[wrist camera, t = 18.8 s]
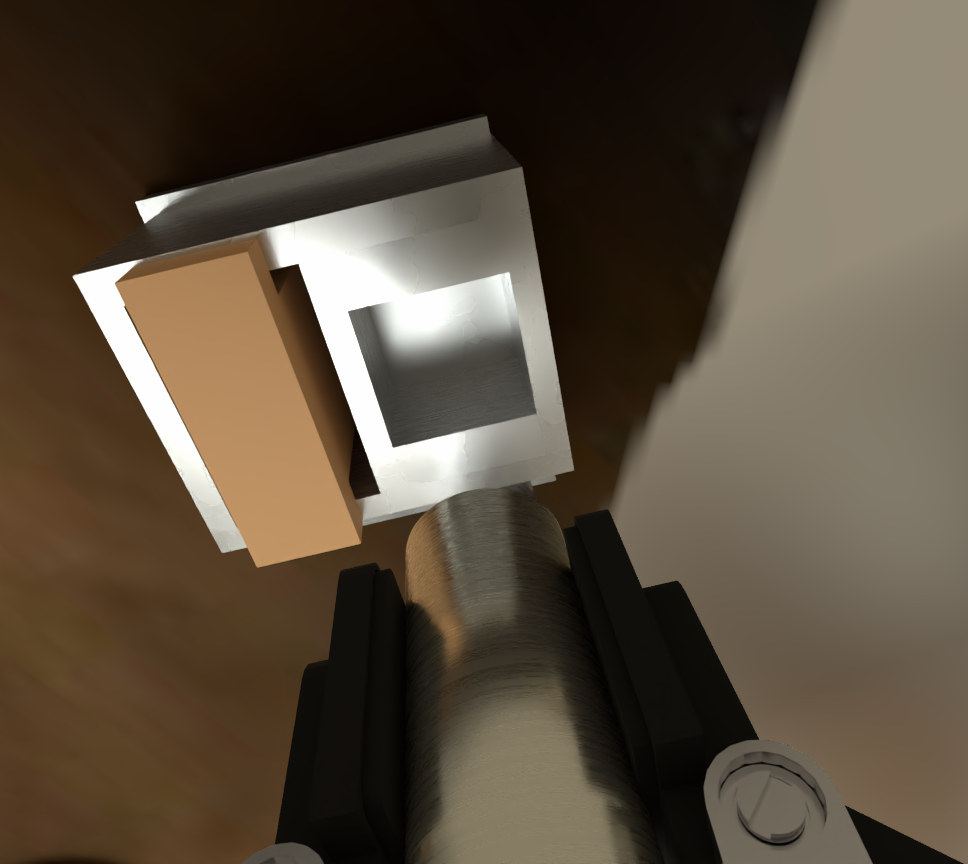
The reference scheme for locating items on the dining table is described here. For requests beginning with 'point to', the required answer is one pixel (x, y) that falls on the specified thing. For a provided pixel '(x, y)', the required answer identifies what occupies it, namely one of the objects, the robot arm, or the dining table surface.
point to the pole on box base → (380, 311)
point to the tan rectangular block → (254, 394)
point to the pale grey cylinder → (508, 699)
